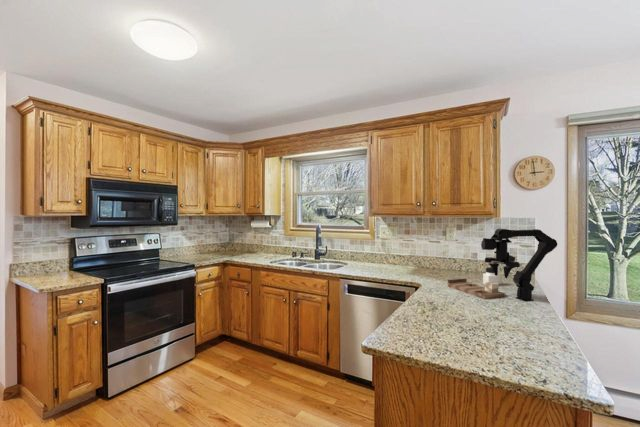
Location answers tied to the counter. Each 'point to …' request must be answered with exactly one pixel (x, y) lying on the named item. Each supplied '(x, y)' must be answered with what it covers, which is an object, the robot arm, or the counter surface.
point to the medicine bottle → (490, 276)
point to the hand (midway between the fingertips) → (501, 276)
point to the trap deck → (473, 289)
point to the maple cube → (491, 287)
